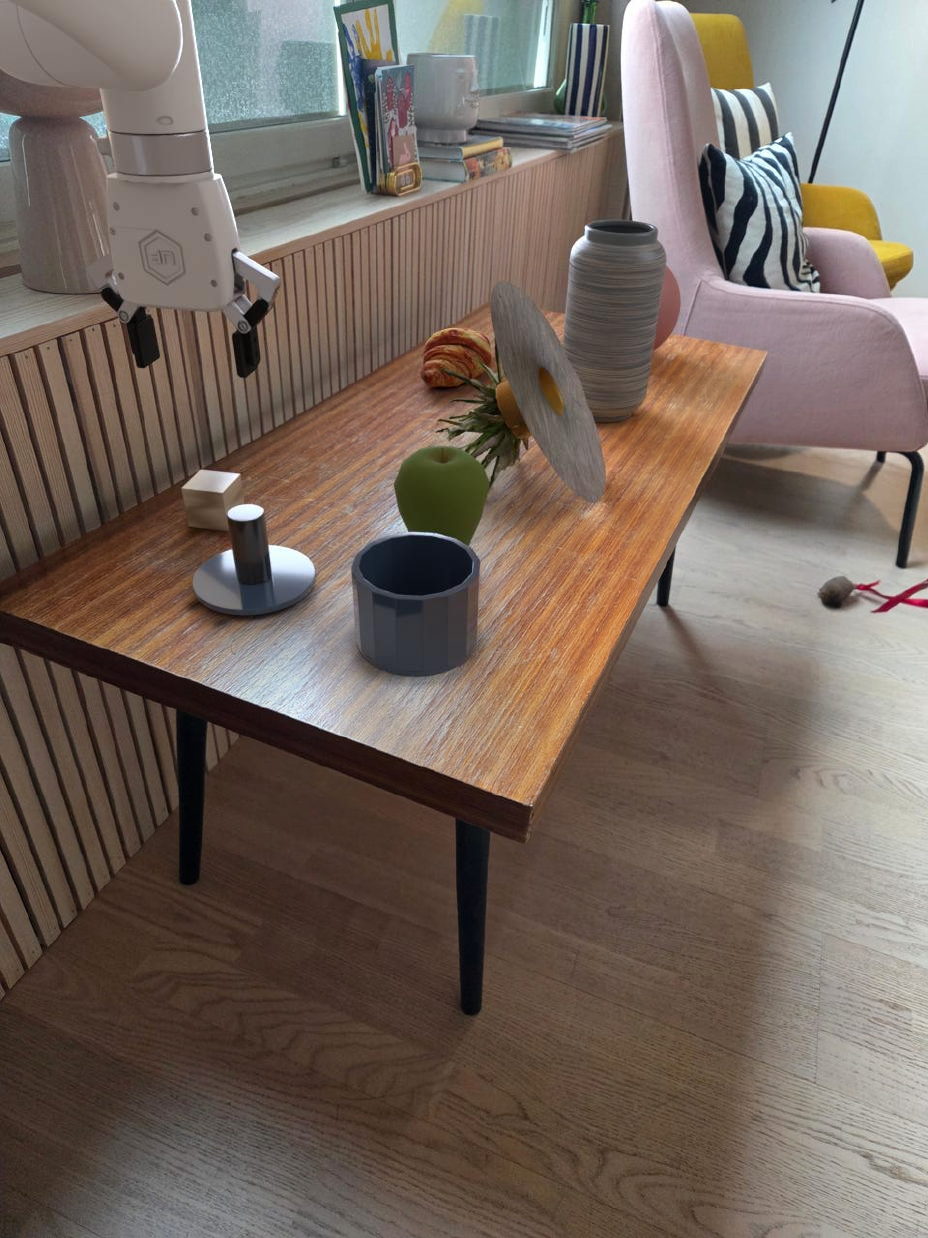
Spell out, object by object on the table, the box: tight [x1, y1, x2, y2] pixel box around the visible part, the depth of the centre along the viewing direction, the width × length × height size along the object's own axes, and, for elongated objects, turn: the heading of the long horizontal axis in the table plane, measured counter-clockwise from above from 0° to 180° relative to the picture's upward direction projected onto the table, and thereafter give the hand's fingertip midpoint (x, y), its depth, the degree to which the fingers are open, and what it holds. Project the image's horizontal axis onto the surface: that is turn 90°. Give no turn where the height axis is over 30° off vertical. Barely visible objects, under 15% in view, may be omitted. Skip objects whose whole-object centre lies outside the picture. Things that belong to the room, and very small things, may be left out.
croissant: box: [420, 327, 493, 388], centre depth 125 cm, size 21×10×8 cm, turn 158°
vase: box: [562, 219, 667, 423], centre depth 109 cm, size 12×12×23 cm
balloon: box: [653, 264, 682, 352], centre depth 127 cm, size 15×20×15 cm
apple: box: [393, 445, 490, 547], centre depth 80 cm, size 9×8×12 cm
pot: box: [350, 531, 481, 677], centre depth 71 cm, size 10×10×8 cm
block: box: [180, 469, 245, 533], centre depth 88 cm, size 4×4×4 cm
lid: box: [191, 503, 317, 616], centre depth 77 cm, size 11×11×8 cm
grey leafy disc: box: [435, 280, 607, 503], centre depth 95 cm, size 25×18×25 cm
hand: (198, 367), depth 78 cm, fingers open, 9 cm apart
